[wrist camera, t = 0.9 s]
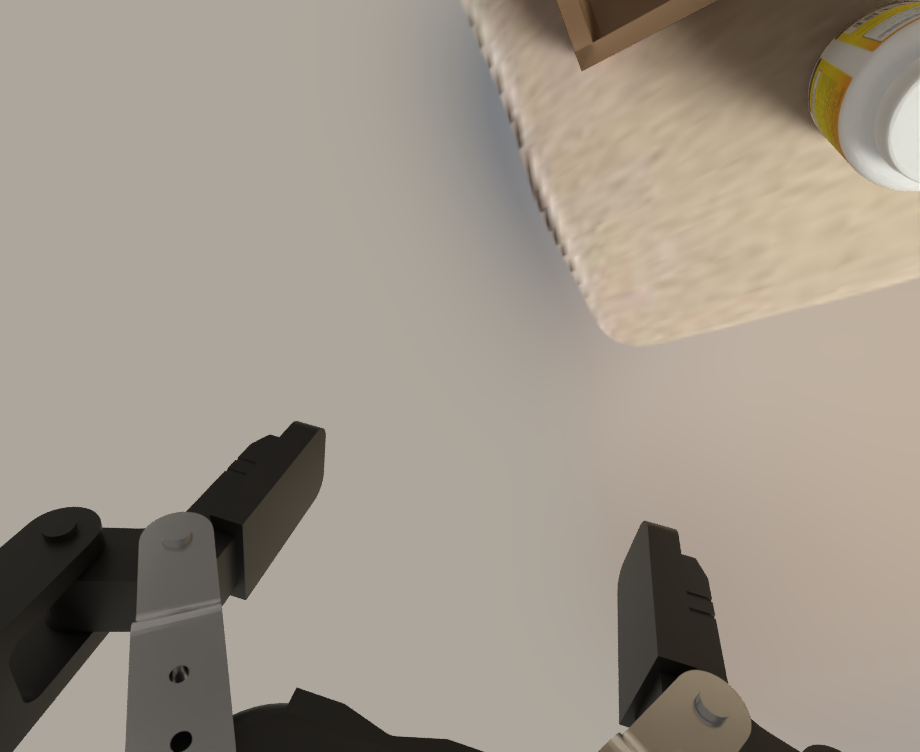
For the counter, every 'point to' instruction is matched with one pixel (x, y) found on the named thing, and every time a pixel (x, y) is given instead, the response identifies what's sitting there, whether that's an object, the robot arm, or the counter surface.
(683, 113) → the counter surface
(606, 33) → the rack
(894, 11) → the supplement bottle
